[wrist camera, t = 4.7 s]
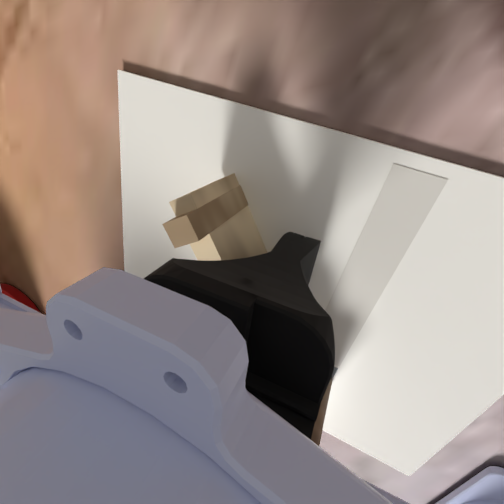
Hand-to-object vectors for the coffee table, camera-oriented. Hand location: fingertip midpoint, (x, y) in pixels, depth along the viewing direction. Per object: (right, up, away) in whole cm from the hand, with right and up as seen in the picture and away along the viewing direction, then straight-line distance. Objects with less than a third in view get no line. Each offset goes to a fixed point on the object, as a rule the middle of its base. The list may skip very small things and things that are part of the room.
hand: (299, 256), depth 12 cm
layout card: (0, -2, +3) cm, 3 cm away
